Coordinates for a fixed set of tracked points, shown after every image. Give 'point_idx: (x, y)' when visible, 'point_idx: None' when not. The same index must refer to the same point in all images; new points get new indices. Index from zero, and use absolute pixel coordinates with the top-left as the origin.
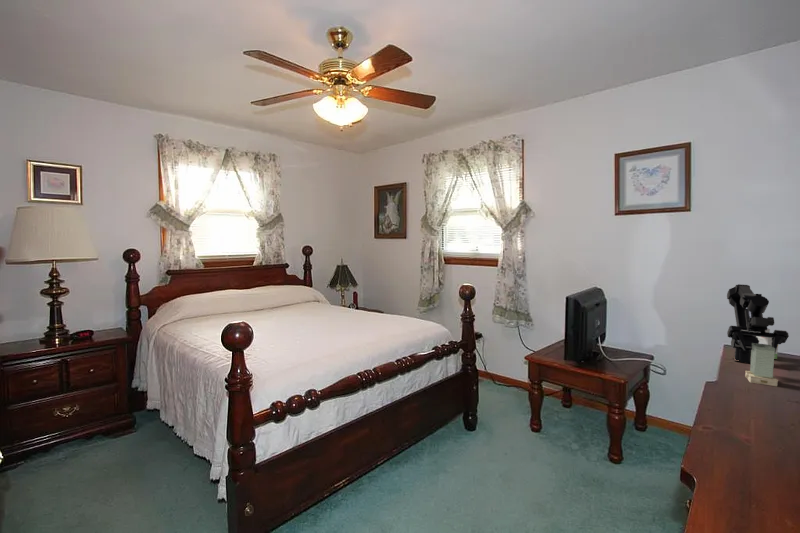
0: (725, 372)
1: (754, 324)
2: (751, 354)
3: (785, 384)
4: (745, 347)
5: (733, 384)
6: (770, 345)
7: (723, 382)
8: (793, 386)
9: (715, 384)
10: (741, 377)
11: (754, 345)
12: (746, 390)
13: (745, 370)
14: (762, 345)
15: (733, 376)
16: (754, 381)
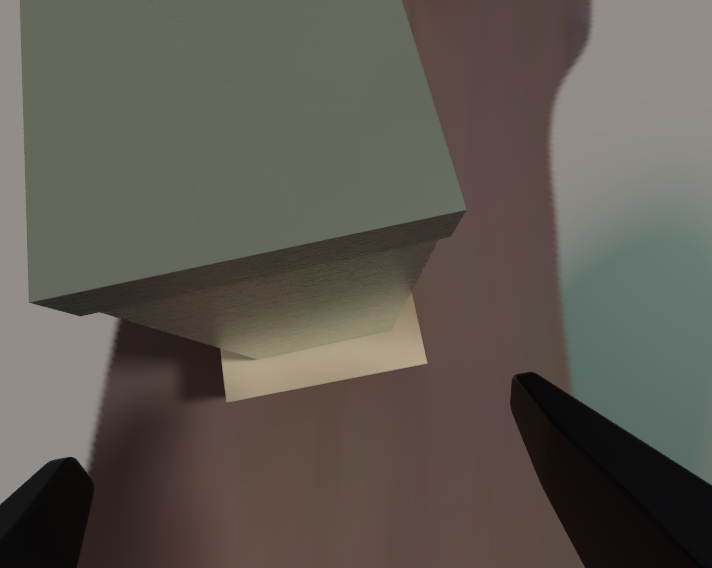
0: (556, 381)
1: None
2: (412, 283)
3: (160, 338)
4: (536, 393)
5: (476, 80)
6: (45, 208)
7: (533, 81)
8: (117, 321)
9: (567, 5)
10: (440, 308)
11: (404, 22)
12: (404, 8)
13: (426, 361)
14: (238, 85)
15: (492, 293)
16: None
